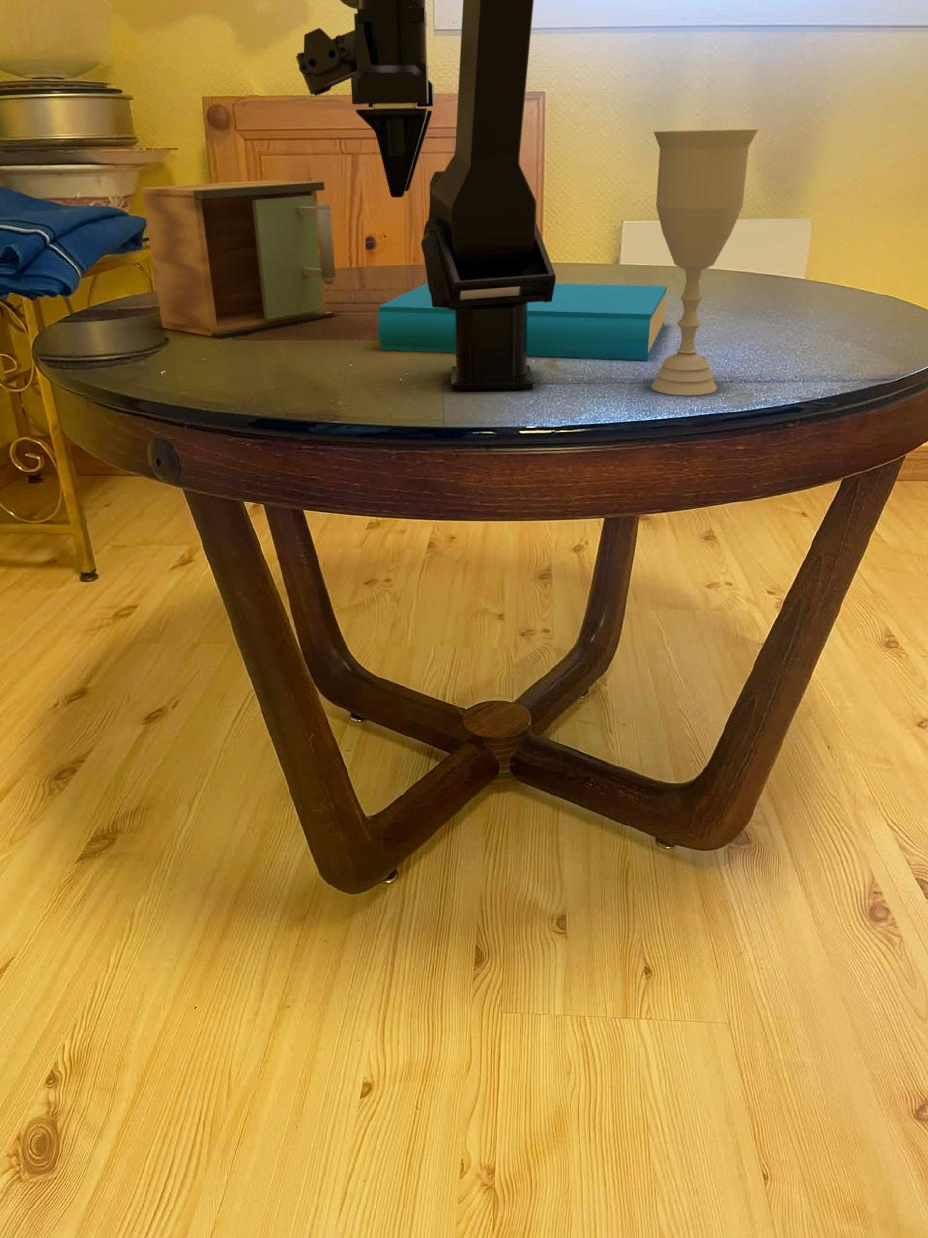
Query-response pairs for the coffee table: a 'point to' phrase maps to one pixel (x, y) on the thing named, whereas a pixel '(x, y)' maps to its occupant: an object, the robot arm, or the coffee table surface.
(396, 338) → the book
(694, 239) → the chalice
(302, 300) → the door
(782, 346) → the coffee table surface
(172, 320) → the cupboard
